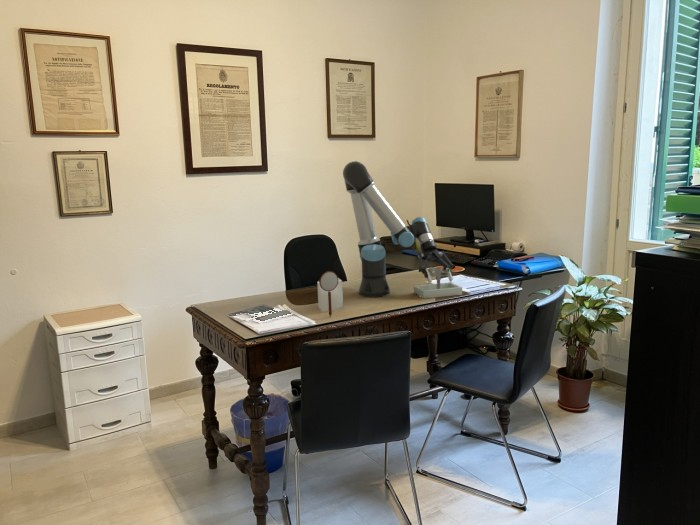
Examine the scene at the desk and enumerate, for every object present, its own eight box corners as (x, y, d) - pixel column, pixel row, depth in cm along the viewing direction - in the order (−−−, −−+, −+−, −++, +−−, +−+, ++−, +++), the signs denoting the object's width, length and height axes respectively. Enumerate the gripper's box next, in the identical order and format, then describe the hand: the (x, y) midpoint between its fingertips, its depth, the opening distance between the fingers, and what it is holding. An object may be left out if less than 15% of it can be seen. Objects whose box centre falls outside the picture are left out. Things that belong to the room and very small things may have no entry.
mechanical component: (449, 288, 268) (449, 268, 266) (428, 289, 268) (428, 269, 266) (448, 287, 271) (448, 267, 269) (427, 288, 271) (427, 268, 269)
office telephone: (294, 310, 243) (256, 321, 229) (294, 316, 243) (257, 327, 230) (263, 301, 259) (225, 310, 246) (263, 306, 260) (226, 316, 246)
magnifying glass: (338, 314, 240) (336, 269, 237) (340, 315, 239) (338, 270, 235) (320, 318, 237) (318, 272, 233) (322, 319, 235) (319, 272, 231)
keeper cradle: (423, 298, 262) (423, 291, 261) (413, 293, 273) (413, 286, 272) (462, 294, 267) (462, 287, 266) (451, 289, 278) (451, 282, 278)
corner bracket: (339, 303, 260) (338, 277, 257) (345, 309, 249) (344, 283, 247) (317, 305, 257) (315, 280, 255) (322, 311, 246) (321, 285, 244)
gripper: (445, 247, 284) (460, 283, 272) (404, 250, 278) (416, 288, 266) (450, 238, 278) (465, 274, 266) (407, 241, 272) (421, 279, 260)
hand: (441, 281), depth 266 cm, fingers closed on mechanical component, 10 cm apart
